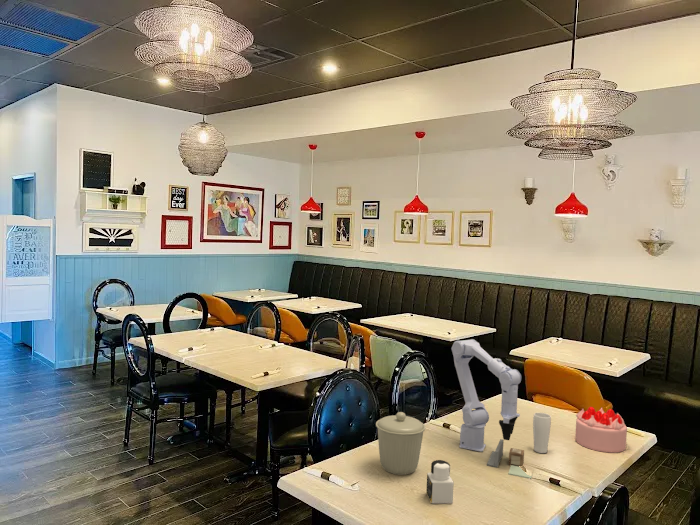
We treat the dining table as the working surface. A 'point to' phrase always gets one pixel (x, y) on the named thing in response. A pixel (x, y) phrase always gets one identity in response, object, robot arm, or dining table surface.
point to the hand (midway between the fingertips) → (507, 436)
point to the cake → (601, 430)
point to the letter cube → (516, 457)
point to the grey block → (496, 455)
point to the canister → (399, 443)
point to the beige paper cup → (541, 431)
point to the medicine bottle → (440, 483)
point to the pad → (518, 472)
